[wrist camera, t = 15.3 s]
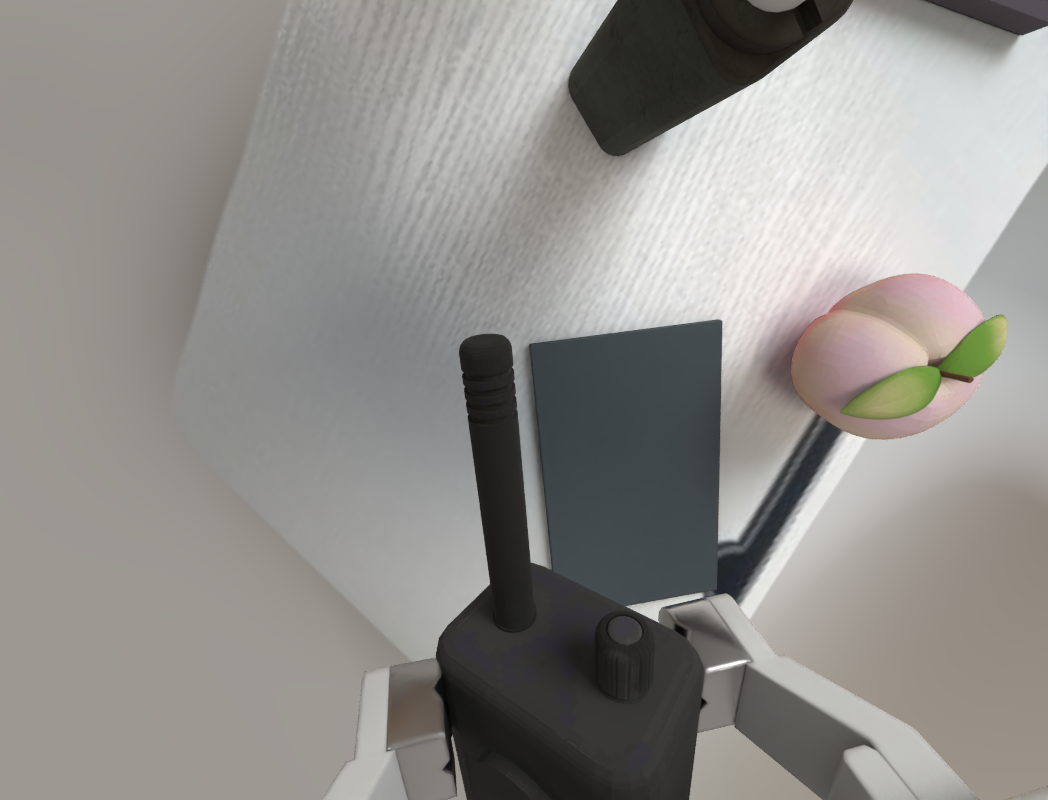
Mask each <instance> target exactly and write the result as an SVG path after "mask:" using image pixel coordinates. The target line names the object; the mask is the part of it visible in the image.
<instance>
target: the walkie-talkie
mask: <svg viewBox="0 0 1048 800" xmlns="http://www.w3.org/2000/svg"><path fill="white" fill-rule="evenodd" d="M459 356H460V363H461V369H462V371H463V372H464V373H463V375H462V378H463V384H464V386H465V388H464V393H465V398H466V400H467V402H466V407H467V413H468V414H469V415H468V422H469V429H470V437H471V444H472V452H473V459H474V466H475V474H476V481H477V489H478V496H479V503H480V511H481V518H482V526H483V533H484V540H485V548H486V555H487V562H488V570H489V577H490V585H489V586H488V587H487V588H486V589H485V590H484V591H483V592H482V593H481V594H480V595H479V596H478V597H477V598H476V599H475V600H474V601H472V602H471V603H470V604H469V605H468V606H467V607H466V608H465V609H464V610H463V611H462V612H461V613H460V614H459V615H458V616H457V617H456V618H455V619H454V620H453V621H452V622H451V623H450V624H449V625H448V626H447V627H446V629H445V630H444V632H443V633H442V635H441V636H440V638H439V641H438V646H437V652H436V658H437V660H438V662H439V664H440V666H441V669H442V675H443V680H444V684H445V690H446V702H447V704H448V705H449V711H450V717H451V722H452V732H453V737H454V741H455V747H456V751H457V756H458V761H459V765H460V769H461V774H462V779H463V784H464V788H465V793H466V798H467V800H689V795H690V787H691V778H692V771H693V763H694V755H695V746H696V738H697V730H698V722H699V714H700V706H701V698H702V690H703V682H704V674H705V672H704V668H703V665H702V662H701V659H700V656H699V653H698V652H697V651H696V649H695V648H694V647H693V646H692V645H691V643H690V642H689V641H688V640H687V639H686V638H685V637H683V636H682V635H680V634H679V633H677V632H676V631H674V630H672V629H670V628H668V627H666V626H664V625H662V624H660V623H658V622H656V621H654V620H652V619H650V618H648V617H646V616H644V615H642V614H640V613H638V612H636V611H633V610H631V609H629V608H627V607H625V606H623V605H621V604H619V603H617V602H615V601H613V600H611V599H609V598H607V597H605V596H603V595H601V594H599V593H597V592H595V591H593V590H591V589H589V588H587V587H585V586H582V585H580V584H578V583H576V582H574V581H572V580H570V579H568V578H566V577H564V576H562V575H560V574H558V573H556V572H554V571H552V570H550V569H548V568H546V567H543V566H540V565H537V564H534V563H531V562H530V551H529V539H528V528H527V516H526V505H525V493H524V482H523V470H522V459H521V447H520V436H519V424H518V413H517V410H516V408H517V401H516V397H515V394H516V390H515V383H514V382H513V381H514V369H513V368H512V366H513V355H512V346H511V343H510V341H509V340H508V339H507V338H506V337H505V336H503V335H499V334H481V335H476V336H472V337H469V338H467V339H465V340H464V341H463V342H462V344H461V345H460V350H459Z"/></svg>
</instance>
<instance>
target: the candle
mask: <svg viewBox="0 0 1048 800" xmlns="http://www.w3.org/2000/svg"><path fill="white" fill-rule="evenodd" d="M852 2H853V0H617V2H616V3H615V5H614V6H613V8H612V10H611V11H610V13H609V14H608V16H607V17H606V19H605V20H604V22H603V23H602V25H601V26H600V28H599V29H598V31H597V32H596V34H595V36H594V37H593V39H592V40H591V42H590V43H589V45H588V46H587V48H586V49H585V51H584V52H583V54H582V55H581V57H580V58H579V60H578V62H577V63H576V65H575V66H574V68H573V70H572V71H571V74H570V77H569V91H570V94H571V97H572V99H573V101H574V102H575V104H576V106H577V108H578V109H579V111H580V113H581V114H582V116H583V118H584V119H585V121H586V123H587V125H588V126H589V128H590V130H591V131H592V133H593V135H594V136H595V138H596V140H597V142H598V143H599V145H600V146H601V148H602V149H603V150H604V151H605V152H607V153H608V154H611V155H614V156H620V155H624V154H626V153H628V152H630V151H631V150H633V149H635V148H637V147H639V146H640V145H642V144H644V143H646V142H648V141H650V140H651V139H653V138H655V137H657V136H659V135H660V134H662V133H664V132H666V131H668V130H670V129H671V128H673V127H675V126H677V125H679V124H680V123H682V122H684V121H686V120H688V119H690V118H691V117H693V116H695V115H697V114H699V113H701V112H702V111H704V110H706V109H708V108H710V107H711V106H713V105H715V104H717V103H719V102H721V101H722V100H724V99H726V98H728V97H730V96H731V95H733V94H735V93H737V92H739V91H741V90H742V89H744V88H746V87H748V86H750V85H751V84H753V83H755V82H757V81H759V80H760V79H762V78H763V77H765V76H766V75H767V74H769V73H770V72H771V71H773V70H774V69H775V68H776V67H778V66H779V65H780V64H782V63H783V62H784V61H786V60H787V59H788V58H790V57H791V56H792V55H793V54H795V53H796V52H797V51H799V50H800V49H801V48H803V47H804V46H805V45H807V44H808V43H809V42H810V41H812V40H813V39H814V38H816V37H817V36H818V35H820V34H821V33H822V32H823V31H825V30H826V29H827V28H829V27H830V26H831V25H833V24H834V23H835V22H837V21H838V20H839V19H840V18H841V17H842V16H843V15H844V14H845V13H846V11H847V10H848V8H849V7H850V5H851V4H852Z"/></svg>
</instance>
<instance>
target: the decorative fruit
mask: <svg viewBox="0 0 1048 800" xmlns="http://www.w3.org/2000/svg"><path fill="white" fill-rule="evenodd" d="M1007 331H1008V326H1007V319H1006V317H1005V316H1004V315H996V316H994V317H992V318H990V319H989V320H987V321H985V319H984V317H983V315H982V313H981V312H980V310H979V308H978V307H977V306H976V304H975V303H974V302H973V301H972V300H971V299H970V298H969V297H968V295H966V294H965V293H964V292H963V291H961V290H960V289H959V288H957V287H956V286H954V285H952V284H950V283H949V282H947V281H945V280H943V279H940V278H938V277H935V276H930V275H925V274H917V273H916V274H904V275H897V276H893V277H889V278H886V279H883V280H880V281H877V282H875V283H872V284H870V285H867V286H865V287H863V288H861V289H858V290H856V291H854V292H852V293H850V294H849V295H847V296H845V297H844V298H842V299H841V300H840V301H839V302H837V303H836V304H835V305H834V306H833V307H832V308H831V310H830V311H829V312H828V313H827V314H825V315H823V316H820V317H819V318H817V319H816V320H814V321H813V322H812V323H811V324H810V325H809V326H808V327H807V328H806V330H805V331H804V332H803V334H802V336H801V337H800V339H799V341H798V343H797V345H796V348H795V351H794V354H793V358H792V363H791V377H792V382H793V385H794V388H795V390H796V392H797V394H798V395H799V397H800V398H801V399H802V400H803V401H804V402H805V404H806V405H807V406H809V407H810V408H811V409H812V410H813V411H815V412H816V413H817V414H818V415H820V416H821V417H822V418H824V419H825V420H827V421H828V422H830V423H831V424H833V425H834V426H836V427H838V428H840V429H841V430H843V431H846V432H848V433H850V434H853V435H856V436H859V437H863V438H869V439H895V438H902V437H907V436H911V435H914V434H918V433H920V432H923V431H925V430H928V429H929V428H932V427H933V426H935V425H937V424H939V423H940V422H942V421H944V420H945V419H947V418H948V417H950V416H951V415H952V414H954V413H955V412H956V411H957V410H959V409H960V408H961V407H962V406H963V405H964V404H965V403H966V402H967V401H968V400H969V399H970V398H971V396H972V395H973V393H974V392H975V391H976V389H977V388H978V385H979V384H980V382H981V380H982V377H983V375H984V371H985V370H987V369H988V368H989V367H990V366H991V365H992V364H993V363H994V362H995V361H996V360H997V359H998V357H999V356H1000V354H1001V353H1002V351H1003V349H1004V346H1005V343H1006V339H1007Z"/></svg>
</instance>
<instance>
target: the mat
mask: <svg viewBox="0 0 1048 800" xmlns="http://www.w3.org/2000/svg"><path fill="white" fill-rule="evenodd" d="M530 355H531V365H532V375H533V385H534V395H535V404H536V414H537V424H538V434H539V444H540V453H541V463H542V473H543V483H544V493H545V503H546V512H547V522H548V532H549V542H550V552H551V562H552V571H554V572H556V573H558V574H560V575H562V576H564V577H566V578H568V579H570V580H572V581H574V582H576V583H578V584H580V585H582V586H585V587H587V588H589V589H591V590H593V591H595V592H597V593H599V594H601V595H603V596H605V597H607V598H609V599H611V600H613V601H615V602H617V603H619V604H621V605H623V606H628V605H633V604H639V603H645V602H650V601H656V600H661V599H667V598H672V597H678V596H683V595H689V594H694V593H700V592H705V591H711V590H716V589H717V554H718V505H719V457H720V408H721V359H722V321H721V320H712V321H704V322H696V323H688V324H681V325H673V326H665V327H657V328H649V329H642V330H634V331H626V332H618V333H611V334H603V335H595V336H587V337H580V338H572V339H564V340H556V341H548V342H541V343H533V344H530Z"/></svg>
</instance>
